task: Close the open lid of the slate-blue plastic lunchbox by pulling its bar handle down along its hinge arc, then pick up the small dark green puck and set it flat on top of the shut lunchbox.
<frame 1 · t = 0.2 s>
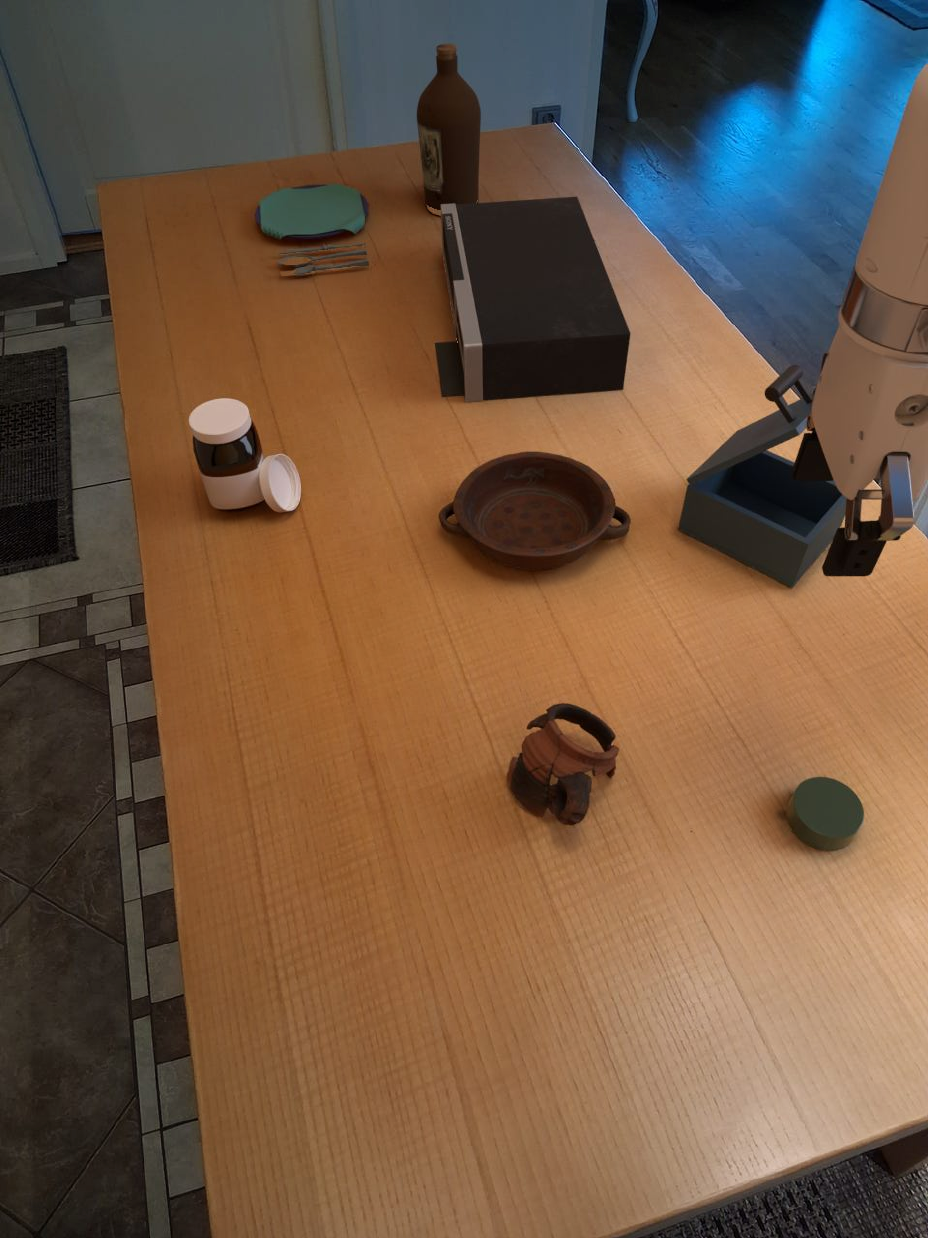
hand: (828, 523, 64), 29 cm above the table, tool pointing down, fingers open, 9 cm apart
dish: (533, 532, 105), on the table
video player: (514, 319, 135), on the table
lunchbox: (757, 531, 104), on the table
spread jar: (256, 496, 111), on the table
dark green puck: (820, 820, 80), on the table
brown hollow curved piece: (561, 787, 83), on the table
lunchbox lid: (754, 416, 95), point 14 cm above the table, hinge at 50.0°
cutlery set: (315, 234, 154), on the table
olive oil: (451, 206, 160), on the table
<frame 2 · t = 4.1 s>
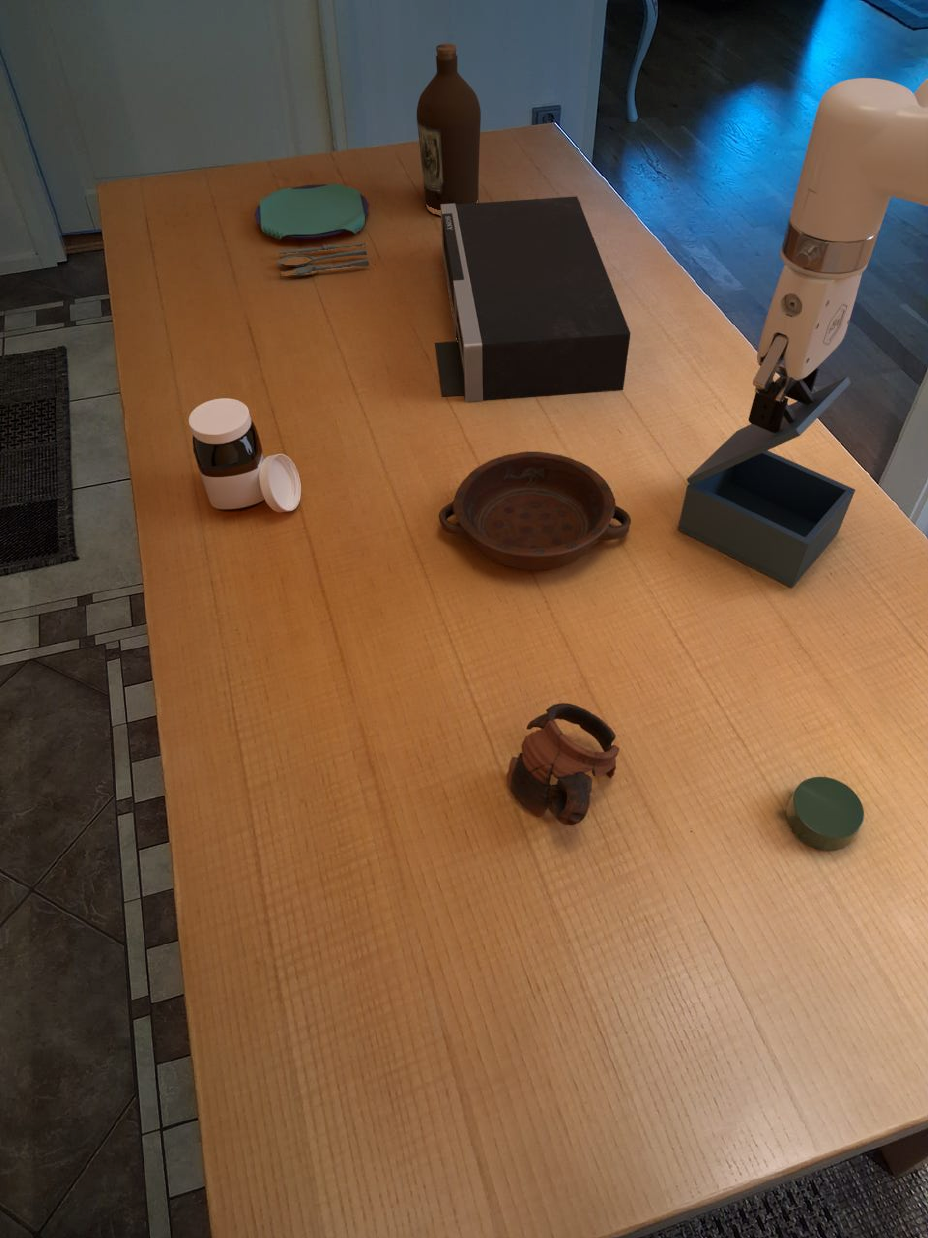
hand: (778, 410, 92), 16 cm above the table, tool pointing down, fingers closed on lunchbox lid, 5 cm apart
lunchbox lid: (754, 416, 95), point 14 cm above the table, hinge at 49.7°, touching gripper
everything else where it was.
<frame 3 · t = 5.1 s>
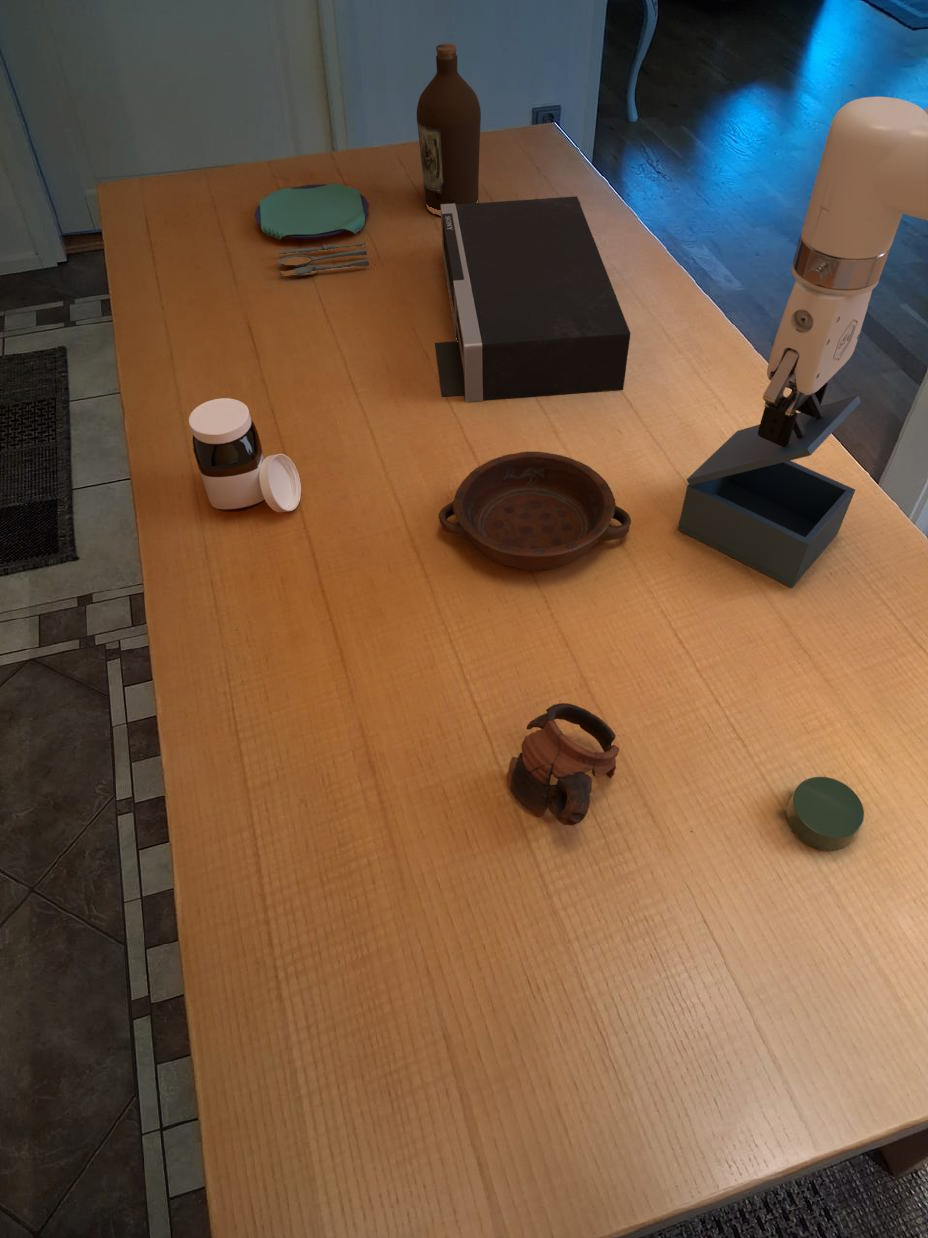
hand: (787, 423, 93), 15 cm above the table, tool pointing down, fingers open, 5 cm apart
lunchbox lid: (762, 424, 95), point 14 cm above the table, hinge at 41.3°, touching gripper
everything else where it was.
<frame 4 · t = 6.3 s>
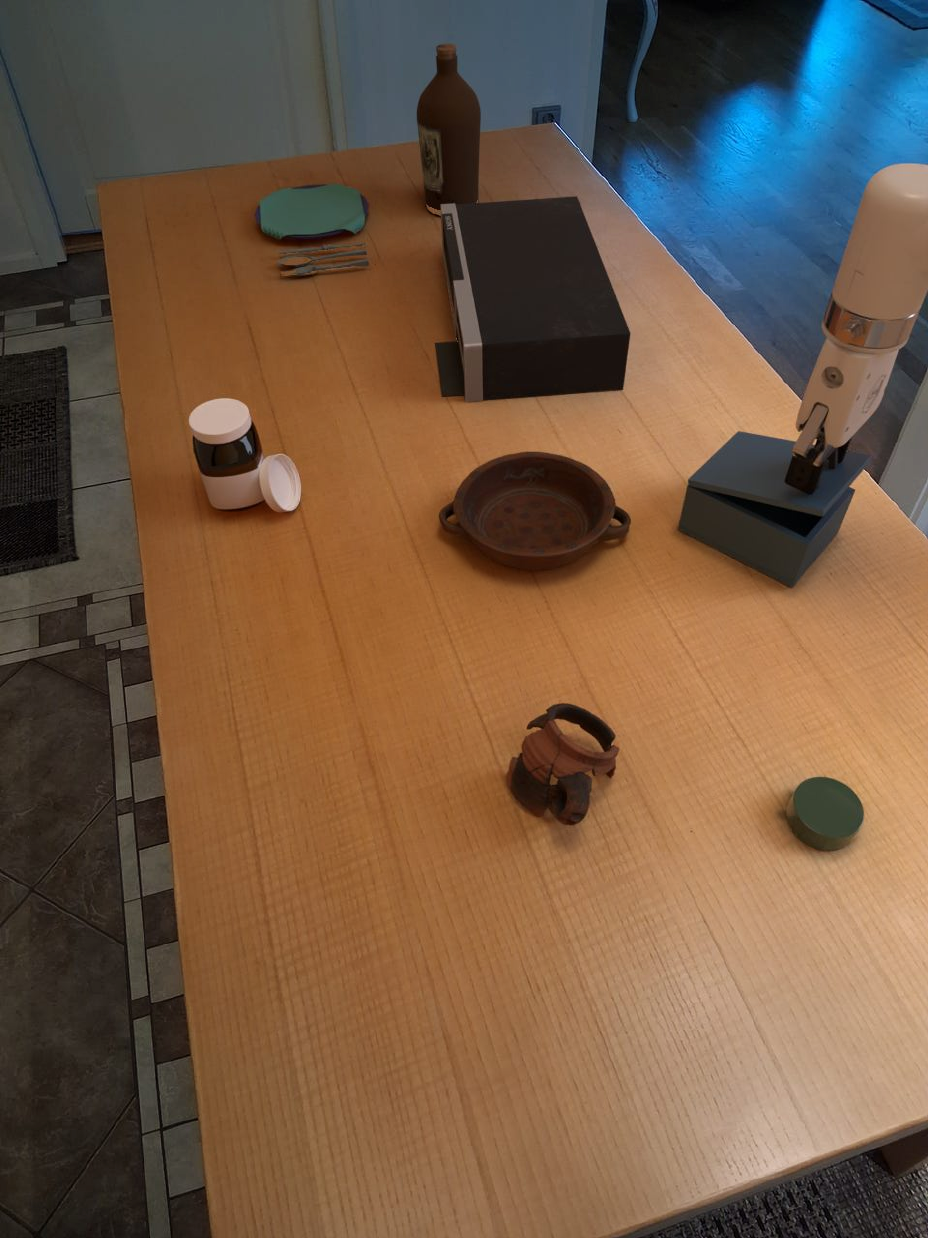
hand: (813, 471, 94), 11 cm above the table, tool pointing down, fingers open, 5 cm apart
lunchbox lid: (777, 453, 96), point 11 cm above the table, hinge at 15.2°, touching gripper
everything else where it was.
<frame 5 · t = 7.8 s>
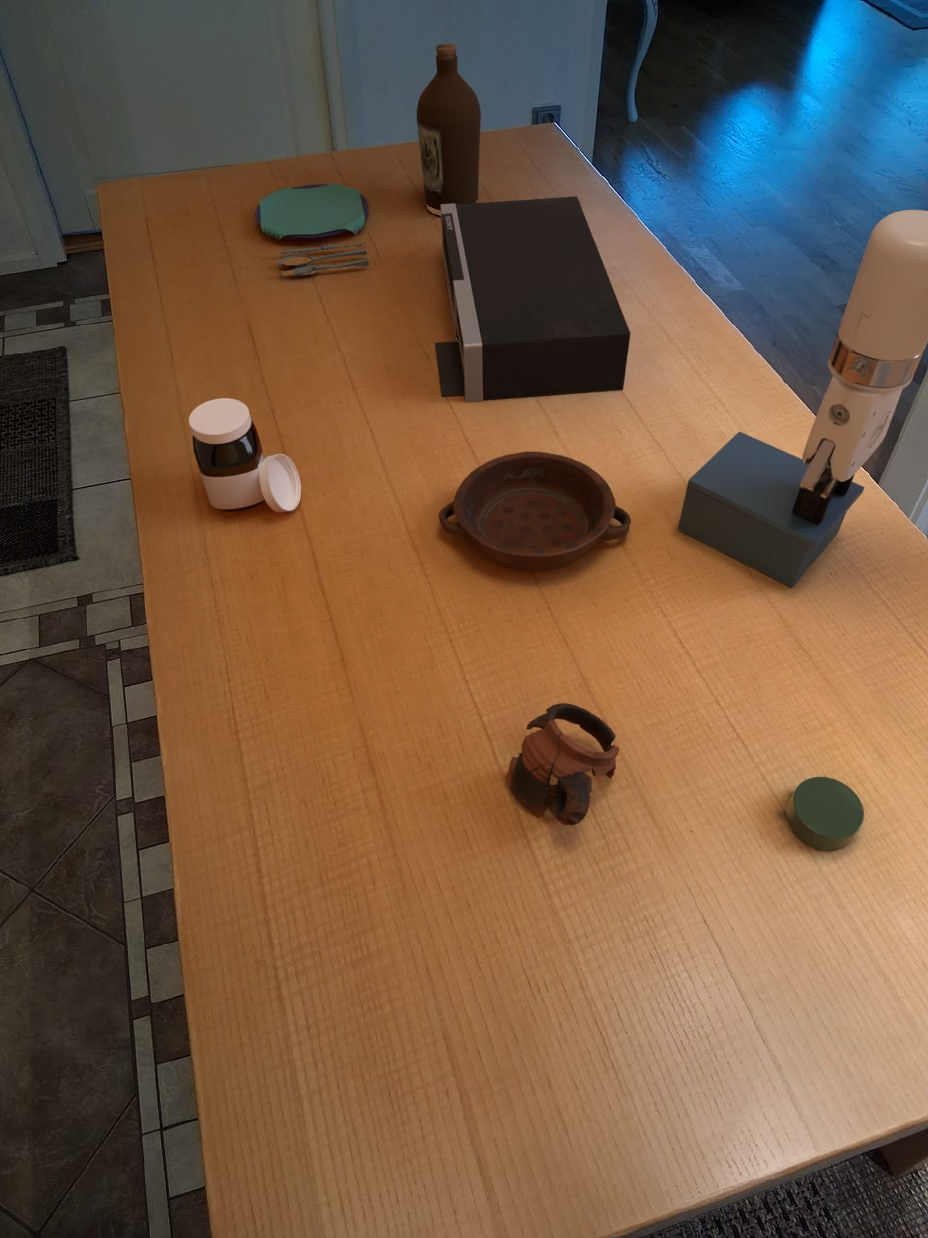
hand: (819, 502, 96), 8 cm above the table, tool pointing down, fingers closed on lunchbox lid, 5 cm apart
lunchbox lid: (779, 471, 97), point 9 cm above the table, hinge at -0.2°, touching gripper, lunchbox
everything else where it was.
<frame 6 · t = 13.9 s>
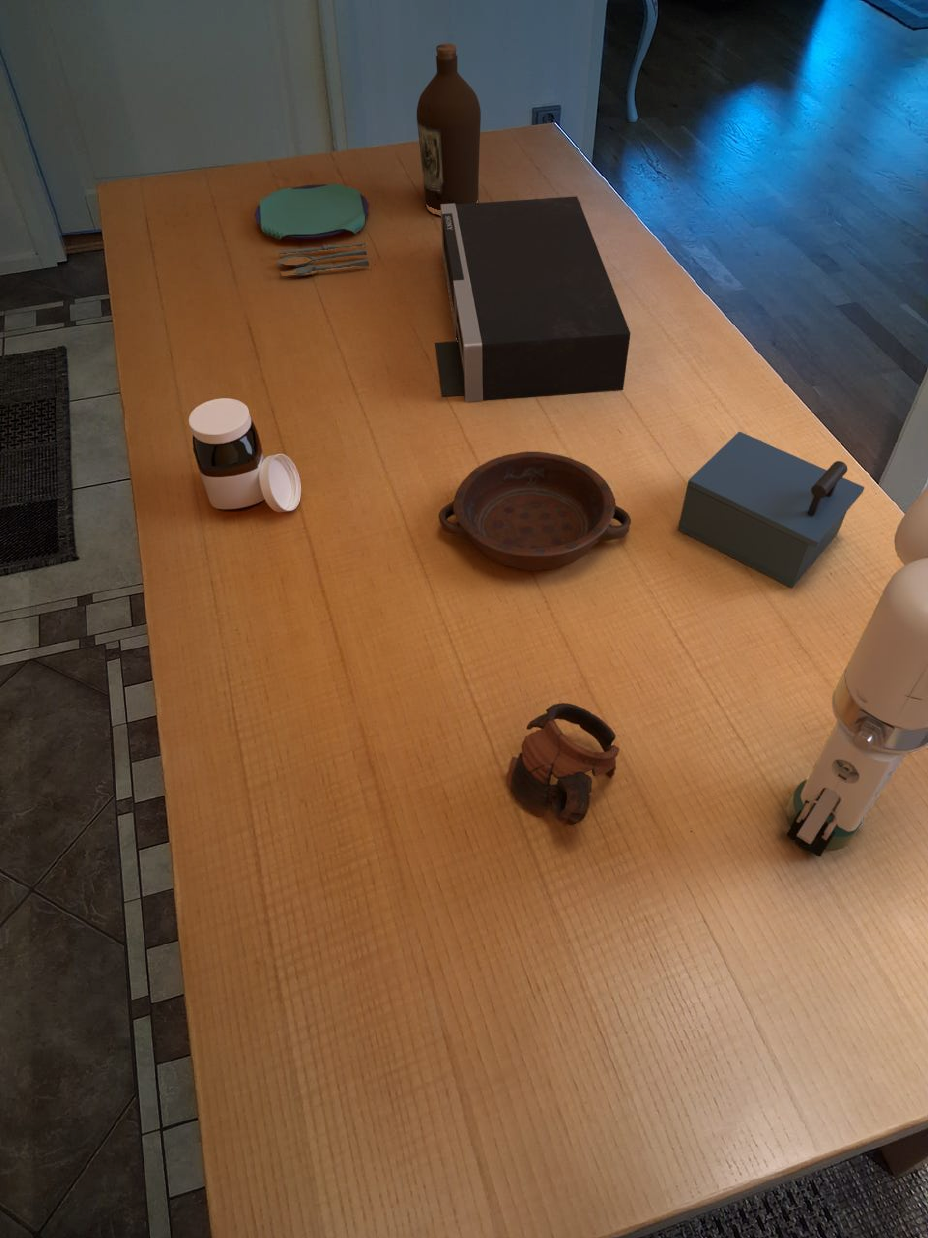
hand: (822, 816, 80), 1 cm above the table, tool pointing down, fingers closed on dark green puck, 6 cm apart
dark green puck: (820, 820, 80), on the table, touching gripper
lunchbox lid: (779, 471, 97), point 9 cm above the table, hinge at -0.2°, touching lunchbox
everything else where it was.
when the fingers open (8 cm above the table, at t = 21.8 s): dark green puck stays where it is, resting on lunchbox lid.
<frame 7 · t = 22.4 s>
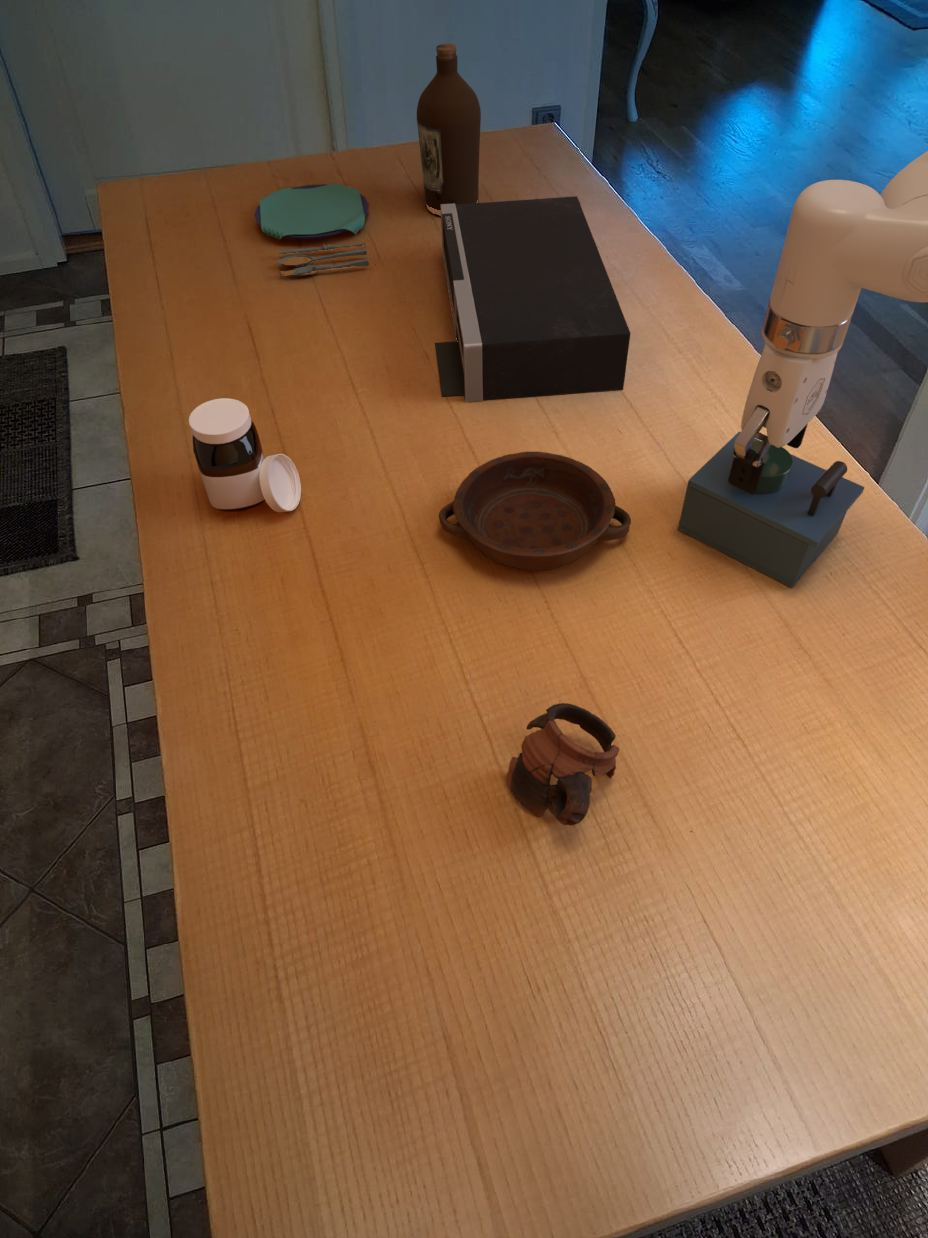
hand: (764, 464, 98), 9 cm above the table, tool pointing down, fingers open, 9 cm apart
dark green puck: (759, 475, 99), point 8 cm above the table, touching lunchbox lid
lunchbox lid: (779, 471, 97), point 9 cm above the table, hinge at -0.2°, touching dark green puck
everything else where it was.
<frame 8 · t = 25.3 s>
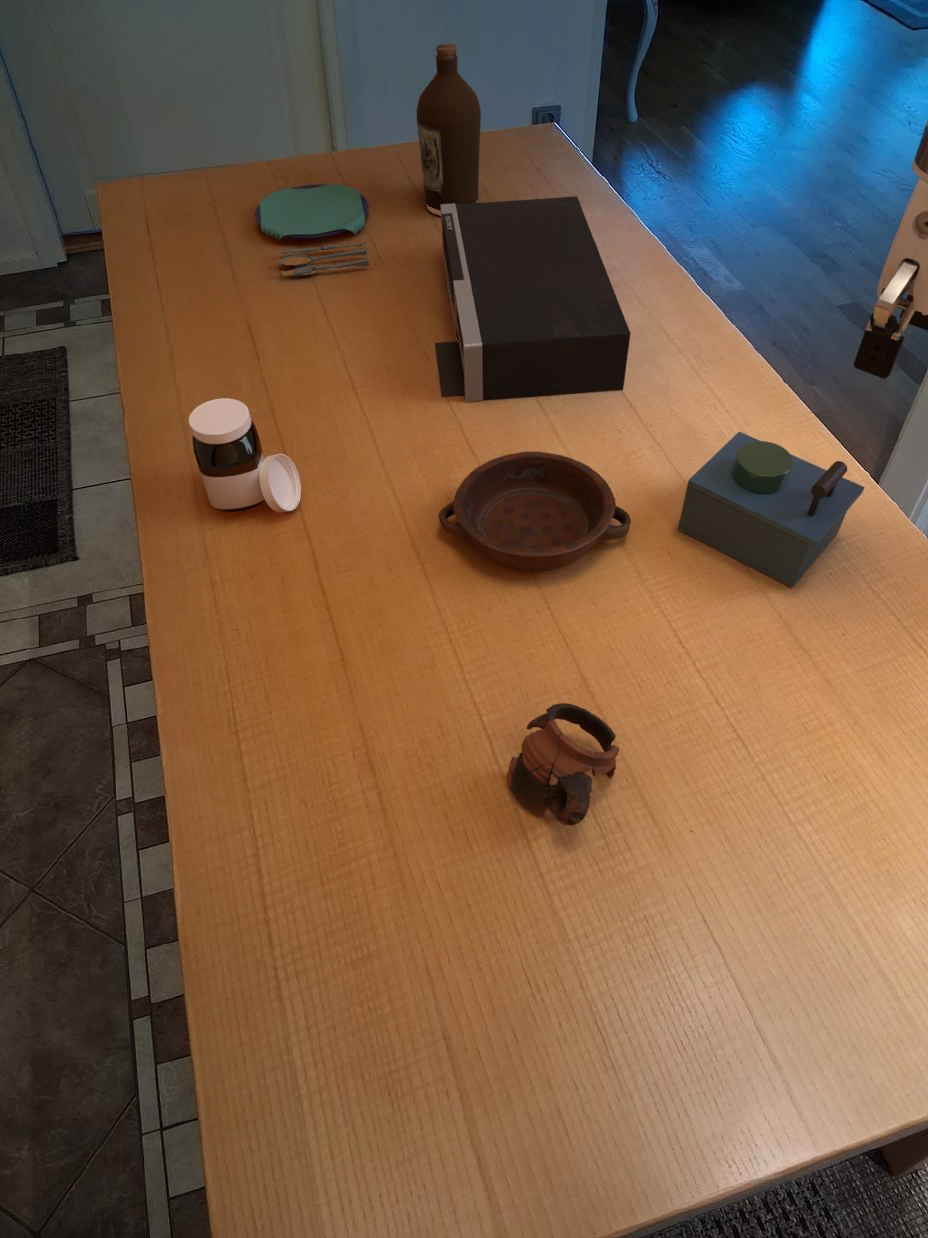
hand: (893, 347, 82), 26 cm above the table, tool pointing down, fingers open, 9 cm apart
nothing on the table moved.
at the end: lunchbox lid at +0° (first picture: +50°); dark green puck inside the target area on the lunchbox (1.6 cm from its centre), point 7.6 cm above the lunchbox's base; dark green puck tilted 0° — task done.
